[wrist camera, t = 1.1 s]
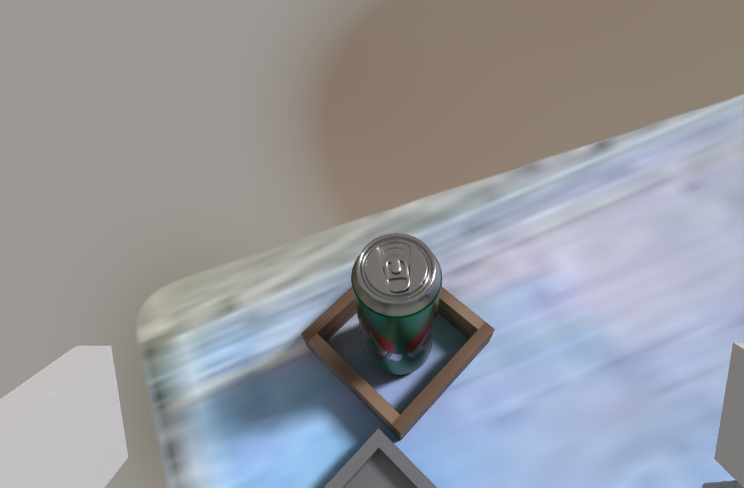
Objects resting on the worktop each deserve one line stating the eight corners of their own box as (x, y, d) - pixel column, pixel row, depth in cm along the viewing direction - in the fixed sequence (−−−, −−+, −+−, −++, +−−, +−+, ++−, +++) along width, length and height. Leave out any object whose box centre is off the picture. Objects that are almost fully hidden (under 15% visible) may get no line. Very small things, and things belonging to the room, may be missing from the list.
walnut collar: (489, 341, 36) (494, 329, 34) (400, 440, 33) (400, 433, 31) (394, 264, 40) (394, 248, 38) (307, 345, 37) (301, 333, 35)
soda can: (426, 309, 38) (435, 222, 28) (436, 373, 35) (451, 304, 25) (361, 316, 38) (346, 231, 28) (366, 381, 35) (352, 314, 25)
